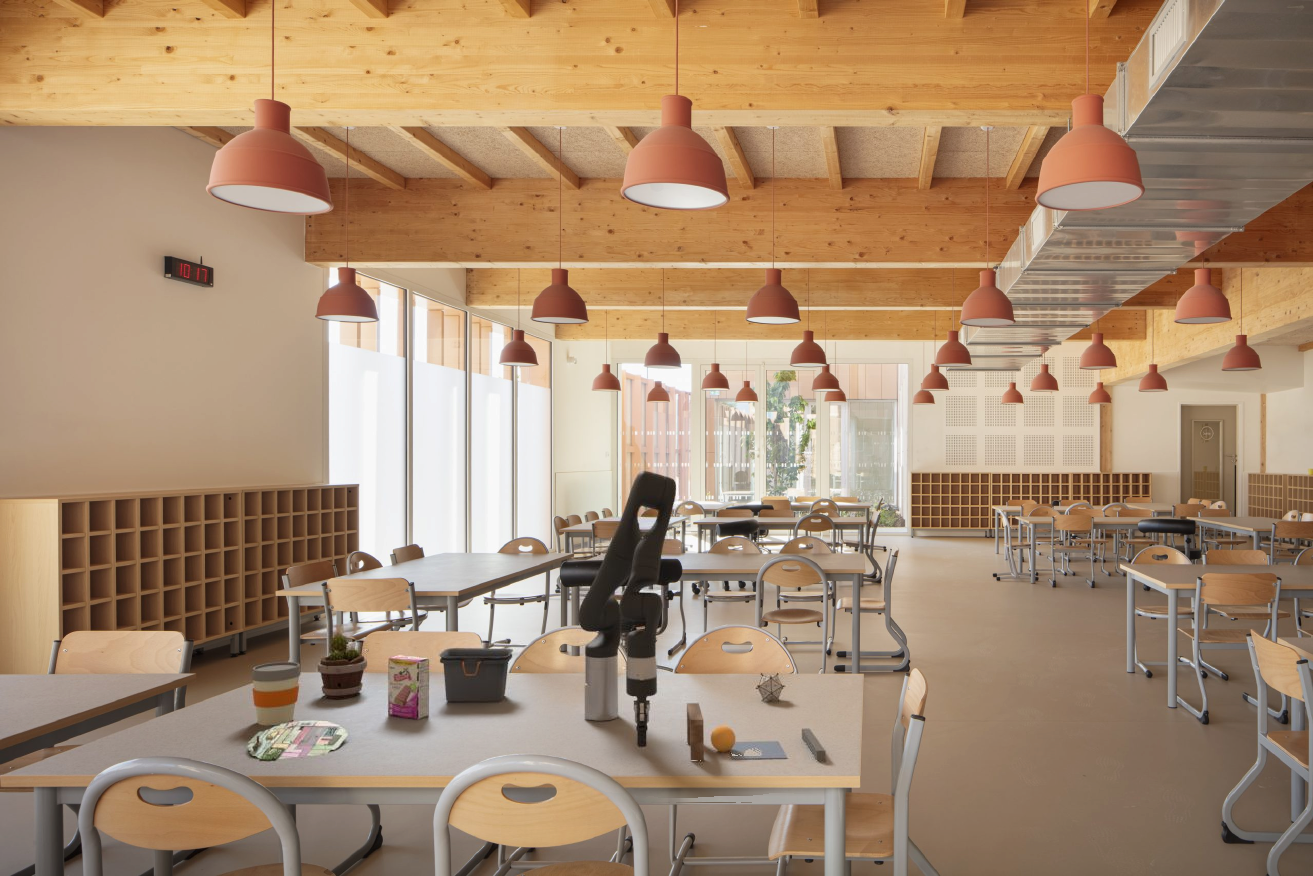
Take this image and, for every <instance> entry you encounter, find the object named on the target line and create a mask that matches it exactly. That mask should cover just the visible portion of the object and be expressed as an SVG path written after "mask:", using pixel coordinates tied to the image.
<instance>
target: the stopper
mask: <svg viewBox="0 0 1313 876" xmlns="http://www.w3.org/2000/svg"><path fill="white" fill-rule="evenodd" d="M801 740H802V741H803V743H804V742H805V743H806V744H805V743H804V744H805V745H807V746H808V747H807V746H806V747H807V749H808V748H809V749H810V750H809V749H808V750H809V752H810V751H811V752H812V753H811V752H810V753H811V755H812V754H813V755H814V756H813V755H812V756H813V758H814V757H815V758H814V759H815V761H816V760H817V761H825V762H826V750H825V748H824V747H823V746H822V744H821V743H820V741H819V740H818V739H817V737H816V735H815V734H814V733H813V731H812V729H810V728H801ZM817 761H816V762H817Z"/></svg>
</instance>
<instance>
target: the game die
mask: <svg viewBox="0 0 1313 876" xmlns="http://www.w3.org/2000/svg"><path fill="white" fill-rule="evenodd" d="M760 675H761V678H760V681H759V684H758V685H756V687H755V689H756V690H758V693H760V696H761V698H762V699H761V702H762V701H763V702H764V700H770V701H771V700H777V702H779V701H780V696H781V694H782V690H783V689H784V688H785V687H786V685H785V684H784V685H783V684H782V681H781V680H780V678H779V672H777V673H776V674H763V672H760ZM780 702H781V701H780Z"/></svg>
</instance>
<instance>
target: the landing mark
mask: <svg viewBox="0 0 1313 876" xmlns="http://www.w3.org/2000/svg"><path fill="white" fill-rule="evenodd" d="M752 748H753V749H754V750H753V751H755V750H757V749H759V750H761V751H762V752H761V751H759V750H757V751H759V752H761V753H762V755H761V756H744V753H745V751H746V750H748V749H751V750H752ZM755 748H757V749H755ZM729 752H731V753H732V754H735V755H738V756H731V758H732V760H733V759H735V760H783V758H785V759H784V760H786V758H787V759H788V756H787V755H786V753H785V750H784V749H783V747H782V745H781V743H780V742H779V740H777V741H776V740H770V741H768V740H765V741H763V740H762V741H758V740H757V741H735V744H734V746H733V747H732V748H731V749H730V750H729ZM755 752H756V751H755ZM731 753H730V755H732V754H731ZM757 753H758V752H757ZM739 754H740V755H742V756H740V755H739ZM759 754H760V753H759ZM781 758H782V759H781Z"/></svg>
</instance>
